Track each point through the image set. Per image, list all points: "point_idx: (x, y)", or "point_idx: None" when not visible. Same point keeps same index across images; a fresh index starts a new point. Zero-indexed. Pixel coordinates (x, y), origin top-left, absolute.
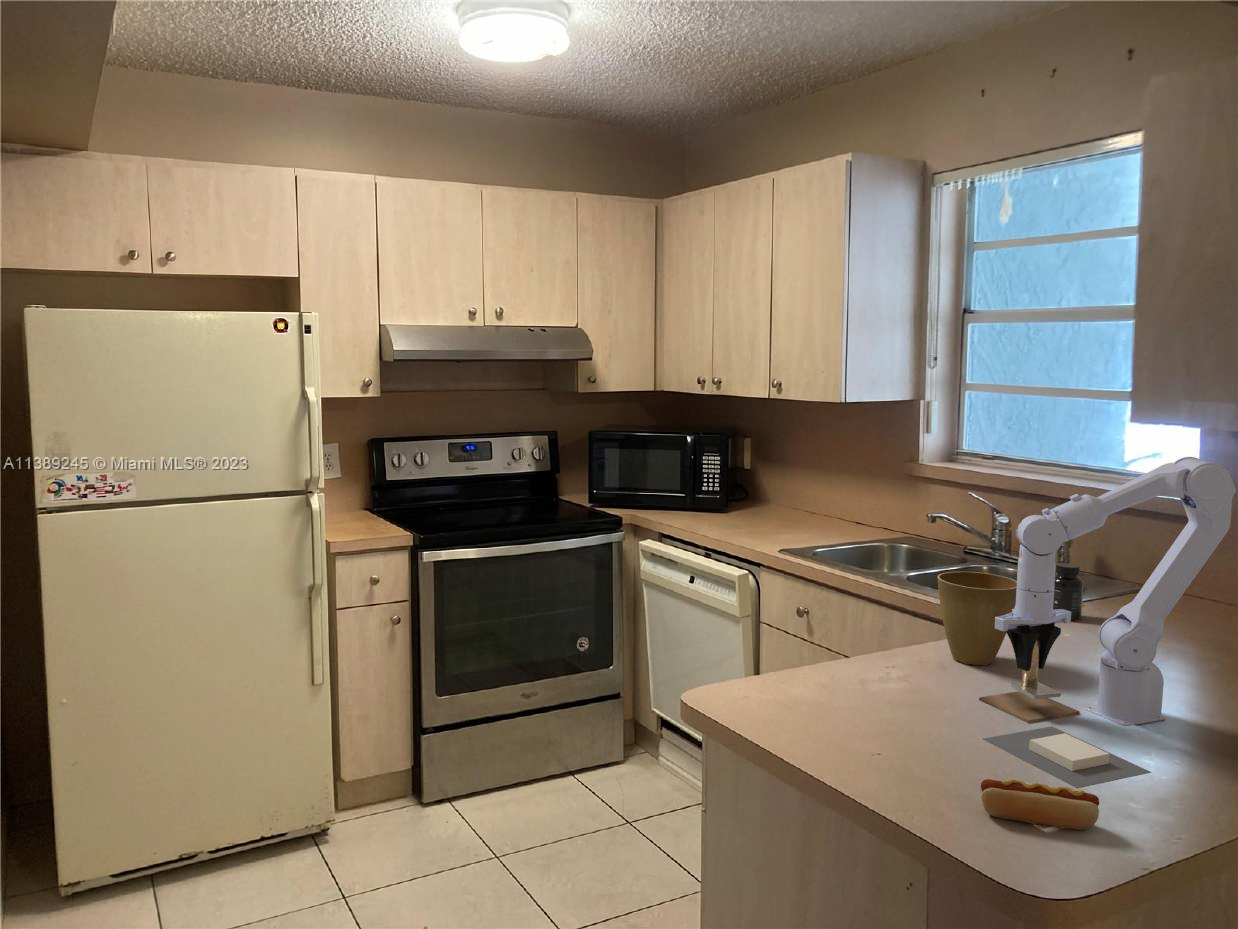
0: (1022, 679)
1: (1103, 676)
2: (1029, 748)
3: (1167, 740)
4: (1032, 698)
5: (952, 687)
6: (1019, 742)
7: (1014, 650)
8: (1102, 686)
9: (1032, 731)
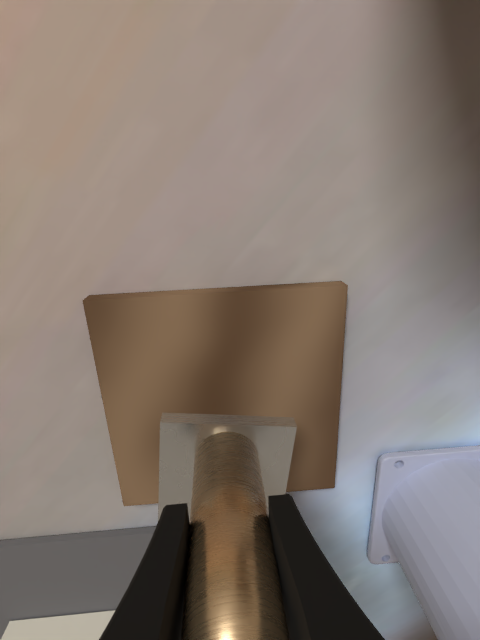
0: (195, 467)
1: (461, 634)
2: (8, 625)
3: (390, 613)
4: (284, 365)
5: (75, 90)
6: (11, 588)
7: (119, 611)
8: (436, 585)
9: (96, 544)
